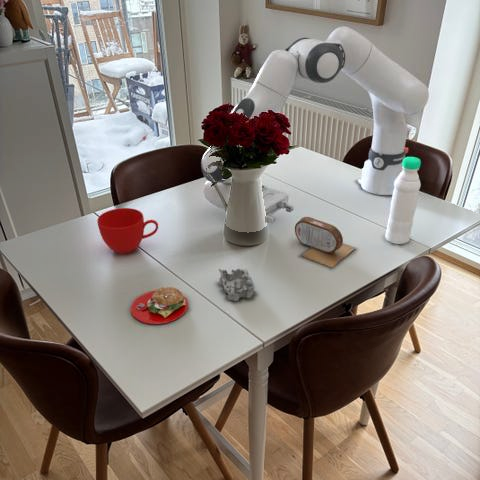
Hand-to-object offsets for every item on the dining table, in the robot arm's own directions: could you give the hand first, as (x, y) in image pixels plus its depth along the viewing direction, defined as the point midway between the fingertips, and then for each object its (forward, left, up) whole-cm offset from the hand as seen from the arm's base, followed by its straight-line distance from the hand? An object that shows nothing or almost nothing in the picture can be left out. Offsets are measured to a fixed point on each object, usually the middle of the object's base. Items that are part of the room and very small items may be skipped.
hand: (283, 214), depth 150 cm
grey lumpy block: (+31, +8, -7) cm, 32 cm away
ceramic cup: (+34, -30, -7) cm, 46 cm away
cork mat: (0, +16, -7) cm, 18 cm away
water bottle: (-19, +28, -7) cm, 35 cm away
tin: (+1, +13, -7) cm, 14 cm away
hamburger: (+49, -2, -7) cm, 49 cm away
